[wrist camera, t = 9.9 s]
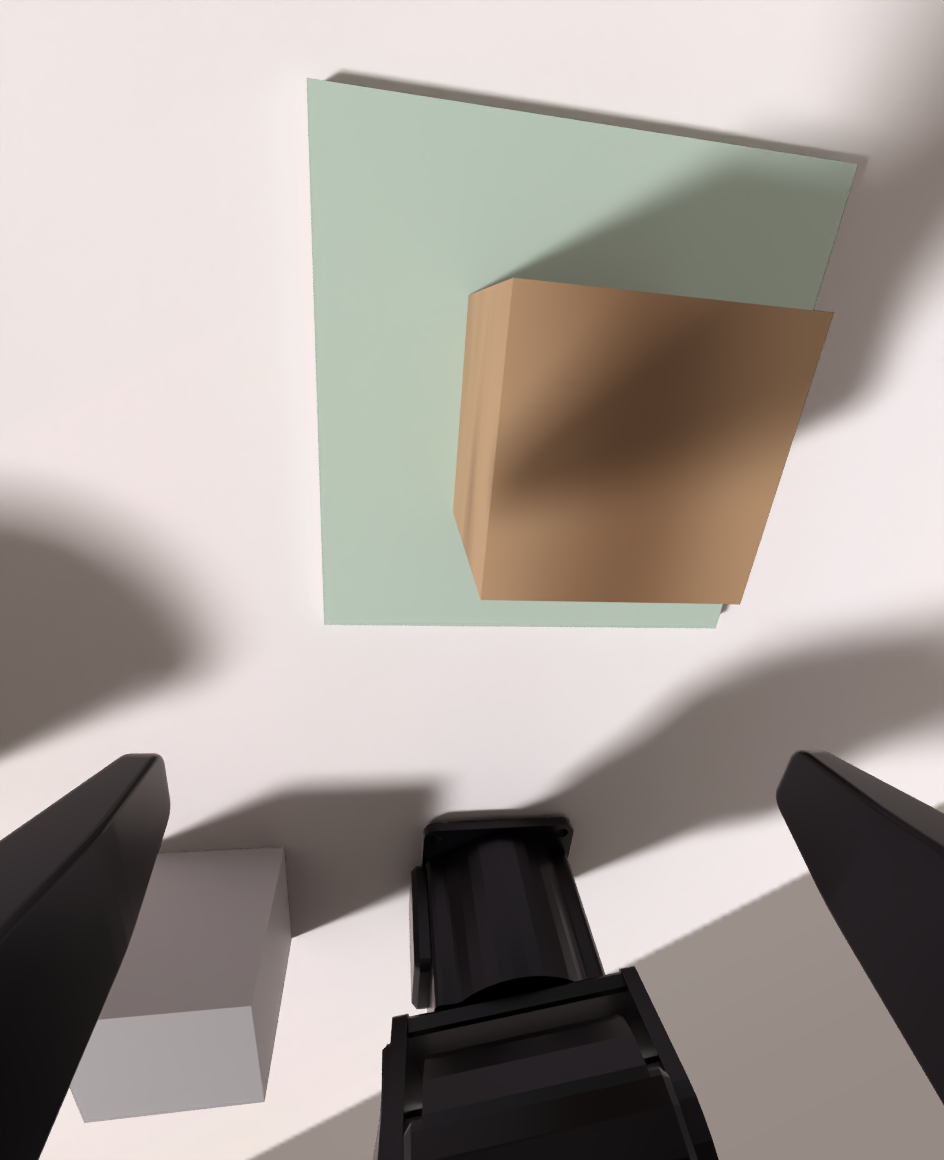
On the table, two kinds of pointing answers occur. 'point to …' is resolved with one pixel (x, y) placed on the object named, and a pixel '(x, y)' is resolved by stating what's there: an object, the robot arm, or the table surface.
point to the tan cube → (624, 440)
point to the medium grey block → (193, 990)
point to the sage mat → (485, 258)
